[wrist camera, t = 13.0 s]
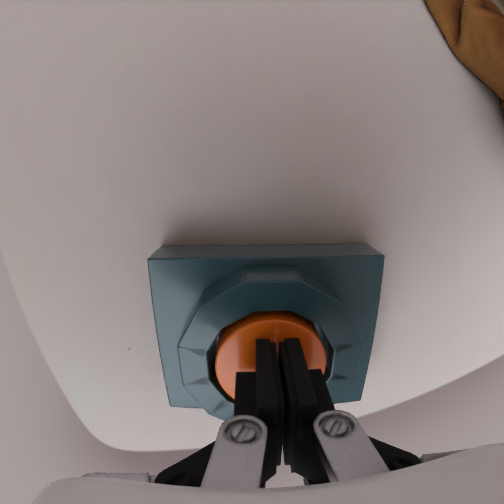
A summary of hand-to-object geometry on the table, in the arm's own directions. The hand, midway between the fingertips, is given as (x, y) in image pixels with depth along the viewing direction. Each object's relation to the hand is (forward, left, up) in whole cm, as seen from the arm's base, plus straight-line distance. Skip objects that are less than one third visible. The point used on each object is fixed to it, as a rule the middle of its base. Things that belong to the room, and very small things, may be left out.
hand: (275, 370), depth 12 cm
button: (0, 0, -2) cm, 2 cm away
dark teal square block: (0, 0, -4) cm, 4 cm away
